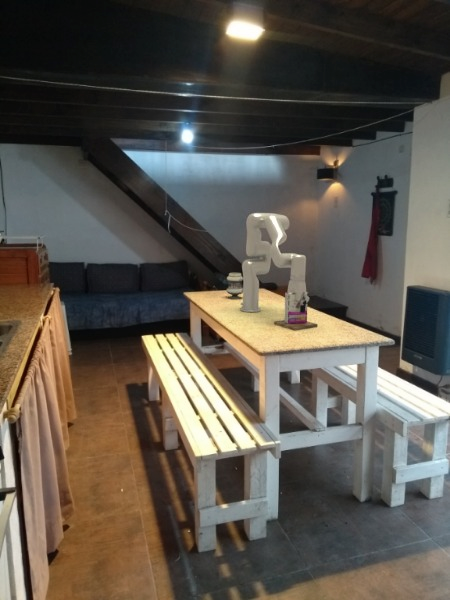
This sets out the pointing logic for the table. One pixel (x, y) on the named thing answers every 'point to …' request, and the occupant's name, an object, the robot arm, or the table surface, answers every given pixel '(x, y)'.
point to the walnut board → (296, 325)
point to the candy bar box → (294, 310)
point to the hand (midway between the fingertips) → (296, 310)
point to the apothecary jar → (235, 285)
